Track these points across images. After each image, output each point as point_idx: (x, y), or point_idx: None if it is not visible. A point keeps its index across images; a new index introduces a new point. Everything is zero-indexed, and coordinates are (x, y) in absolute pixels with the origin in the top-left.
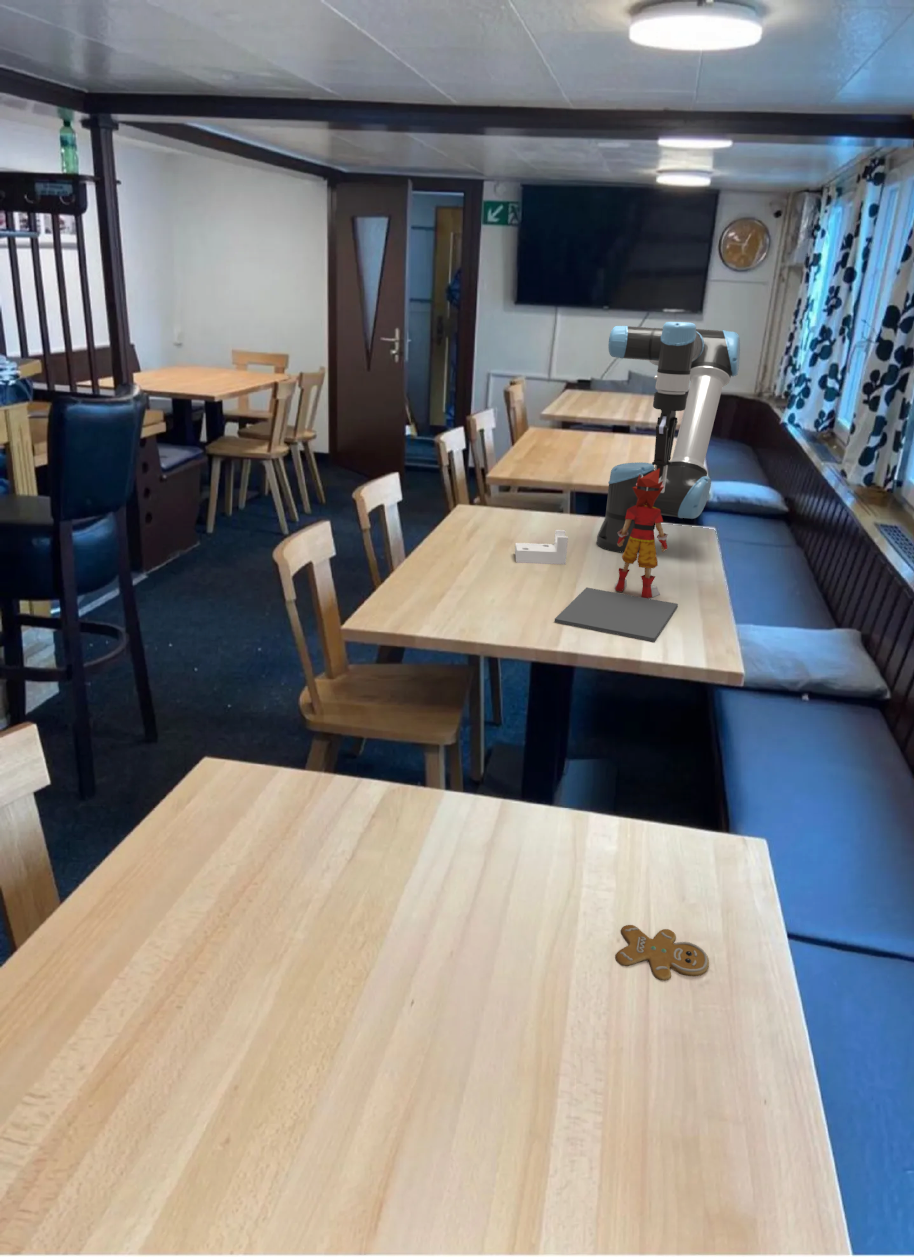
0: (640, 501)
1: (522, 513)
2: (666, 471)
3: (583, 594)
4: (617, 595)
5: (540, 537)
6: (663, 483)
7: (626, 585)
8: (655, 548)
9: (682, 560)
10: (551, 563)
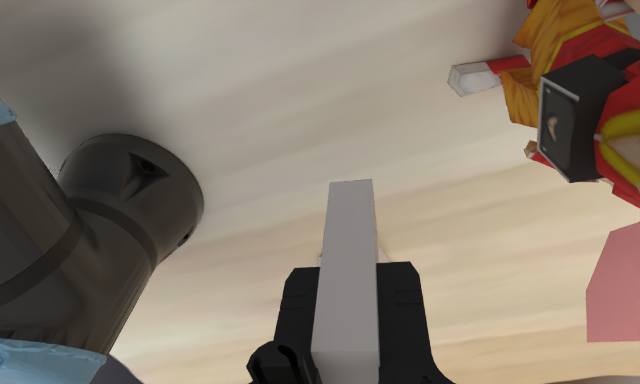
0: None
1: (138, 366)
2: (341, 298)
3: None
4: None
5: (237, 313)
6: (373, 226)
7: (458, 66)
8: (579, 5)
9: (102, 21)
10: (383, 253)
